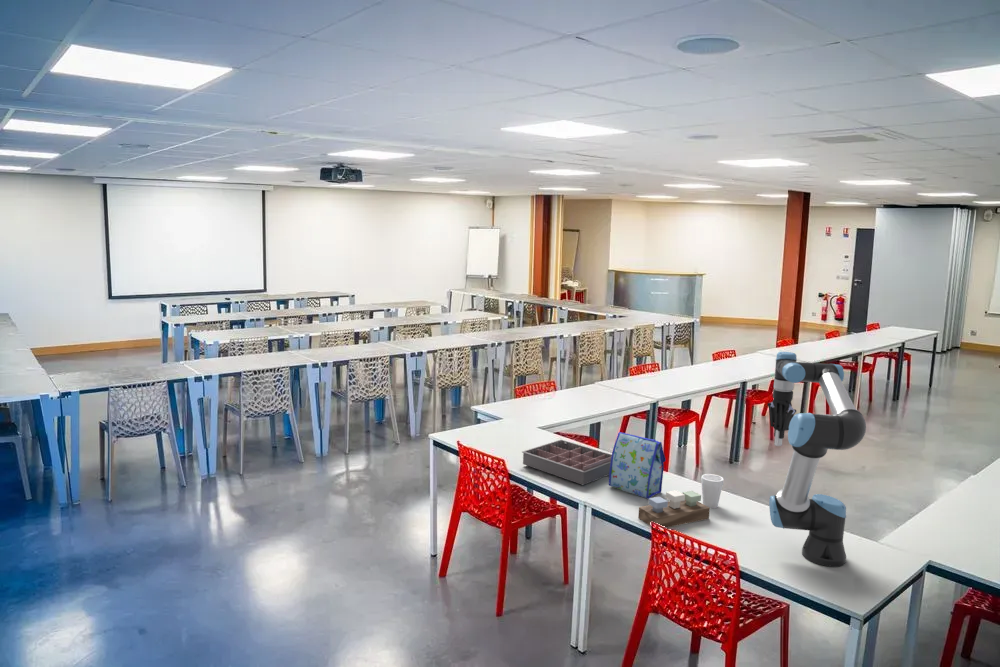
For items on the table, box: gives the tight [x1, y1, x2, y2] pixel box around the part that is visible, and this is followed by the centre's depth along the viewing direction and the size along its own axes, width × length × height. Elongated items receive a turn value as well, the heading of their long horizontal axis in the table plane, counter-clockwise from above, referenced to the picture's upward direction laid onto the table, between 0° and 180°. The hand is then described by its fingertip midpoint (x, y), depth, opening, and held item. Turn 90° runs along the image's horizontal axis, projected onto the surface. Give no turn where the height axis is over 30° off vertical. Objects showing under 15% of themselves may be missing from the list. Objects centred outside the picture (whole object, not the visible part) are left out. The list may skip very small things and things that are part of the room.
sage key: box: [681, 490, 702, 507], centre depth 292 cm, size 6×6×6 cm
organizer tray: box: [521, 439, 612, 486], centre depth 345 cm, size 32×40×10 cm
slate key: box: [648, 496, 669, 513], centre depth 284 cm, size 6×6×6 cm
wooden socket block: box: [637, 500, 711, 528], centre depth 289 cm, size 12×28×5 cm, turn 116°
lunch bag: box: [608, 431, 667, 500], centre depth 319 cm, size 22×17×26 cm
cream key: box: [665, 489, 685, 509], centre depth 288 cm, size 6×6×6 cm
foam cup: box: [700, 473, 725, 509], centre depth 303 cm, size 10×9×13 cm
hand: (778, 445), depth 281 cm, fingers closed
